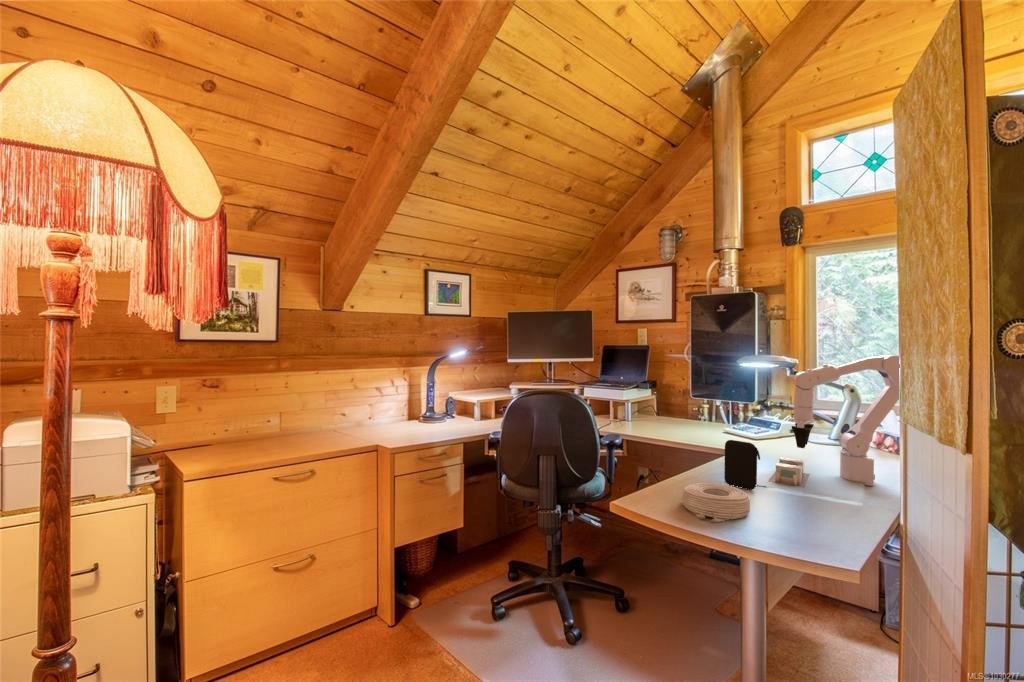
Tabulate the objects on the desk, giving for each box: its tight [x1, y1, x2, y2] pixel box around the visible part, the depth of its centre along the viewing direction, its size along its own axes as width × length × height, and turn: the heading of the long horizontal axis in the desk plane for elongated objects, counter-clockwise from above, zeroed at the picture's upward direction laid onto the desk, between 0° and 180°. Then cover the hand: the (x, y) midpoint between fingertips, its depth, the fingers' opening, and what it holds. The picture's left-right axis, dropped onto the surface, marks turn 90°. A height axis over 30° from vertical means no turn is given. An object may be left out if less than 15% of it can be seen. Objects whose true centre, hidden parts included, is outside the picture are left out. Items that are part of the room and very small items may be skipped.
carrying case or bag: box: [723, 439, 761, 491], centre depth 152 cm, size 11×3×15 cm, turn 44°
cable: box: [681, 482, 751, 523], centre depth 133 cm, size 18×18×6 cm
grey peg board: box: [767, 470, 811, 488], centre depth 161 cm, size 10×19×4 cm, turn 143°
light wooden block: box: [775, 462, 802, 485], centre depth 157 cm, size 7×4×5 cm, turn 54°
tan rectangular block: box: [778, 456, 805, 477], centre depth 165 cm, size 7×4×5 cm, turn 53°
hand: (802, 445), depth 167 cm, fingers open, 7 cm apart
